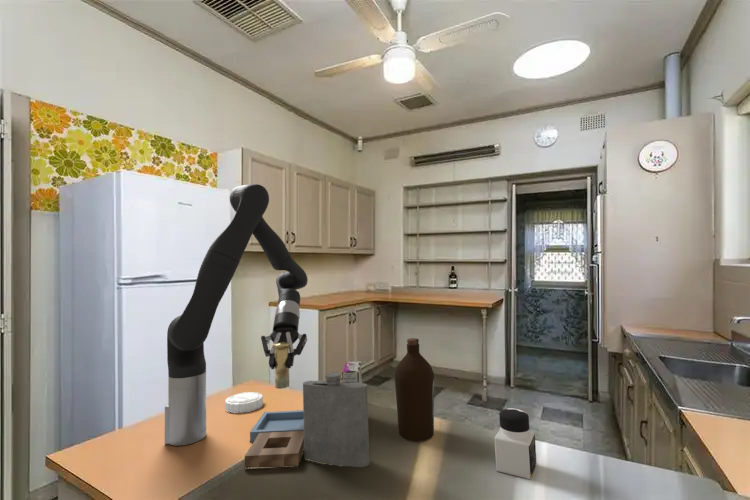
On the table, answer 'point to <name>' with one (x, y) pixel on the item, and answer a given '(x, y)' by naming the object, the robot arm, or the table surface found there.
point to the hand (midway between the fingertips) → (280, 367)
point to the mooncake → (244, 402)
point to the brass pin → (281, 364)
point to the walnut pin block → (276, 449)
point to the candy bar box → (352, 372)
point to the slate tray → (278, 423)
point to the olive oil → (415, 395)
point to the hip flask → (336, 422)
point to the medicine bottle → (515, 444)
